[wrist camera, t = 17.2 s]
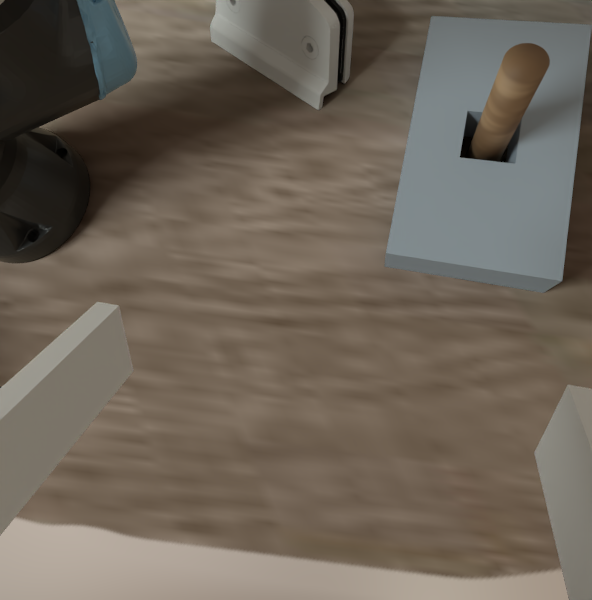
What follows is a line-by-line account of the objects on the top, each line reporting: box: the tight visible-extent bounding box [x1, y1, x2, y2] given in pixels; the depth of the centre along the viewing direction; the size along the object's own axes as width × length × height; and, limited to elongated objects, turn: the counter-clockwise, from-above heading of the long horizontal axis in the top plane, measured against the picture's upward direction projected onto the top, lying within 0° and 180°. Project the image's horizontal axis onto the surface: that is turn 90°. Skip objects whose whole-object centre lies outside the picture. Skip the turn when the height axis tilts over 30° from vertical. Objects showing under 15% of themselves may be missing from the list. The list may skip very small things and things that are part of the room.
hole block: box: [385, 16, 592, 293], centre depth 42 cm, size 24×14×4 cm, turn 168°
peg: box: [465, 43, 550, 162], centre depth 37 cm, size 3×3×13 cm
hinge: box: [210, 0, 354, 110], centre depth 46 cm, size 17×5×10 cm, turn 50°
